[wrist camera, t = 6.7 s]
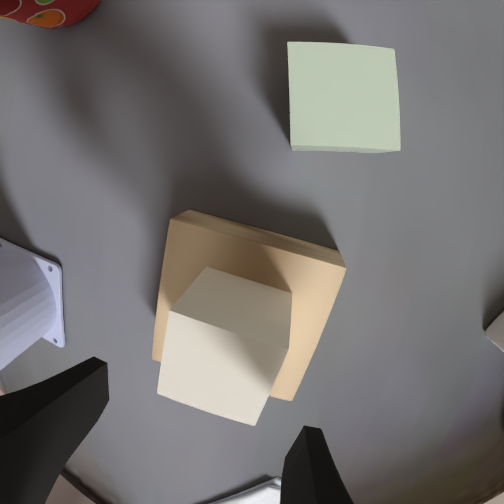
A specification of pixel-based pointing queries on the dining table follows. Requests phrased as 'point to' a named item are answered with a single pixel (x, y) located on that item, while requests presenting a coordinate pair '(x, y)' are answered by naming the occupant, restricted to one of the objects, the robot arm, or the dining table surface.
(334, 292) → the oak base
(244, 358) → the cream block
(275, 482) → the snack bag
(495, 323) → the spoon rest
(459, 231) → the dining table surface
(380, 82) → the sage block
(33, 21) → the smoothie
